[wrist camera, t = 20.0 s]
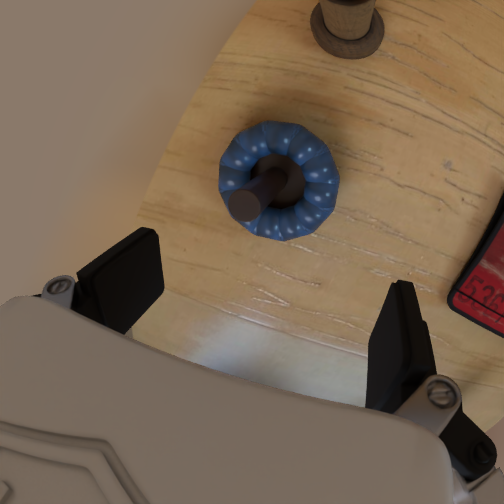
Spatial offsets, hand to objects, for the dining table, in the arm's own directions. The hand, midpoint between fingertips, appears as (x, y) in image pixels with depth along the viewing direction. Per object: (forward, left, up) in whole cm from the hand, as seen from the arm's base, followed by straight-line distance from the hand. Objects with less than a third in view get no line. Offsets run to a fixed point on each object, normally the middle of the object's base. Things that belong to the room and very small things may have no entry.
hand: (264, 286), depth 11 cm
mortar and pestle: (-16, +2, -19) cm, 25 cm away
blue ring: (0, -3, -17) cm, 17 cm away
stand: (0, -4, -19) cm, 20 cm away
